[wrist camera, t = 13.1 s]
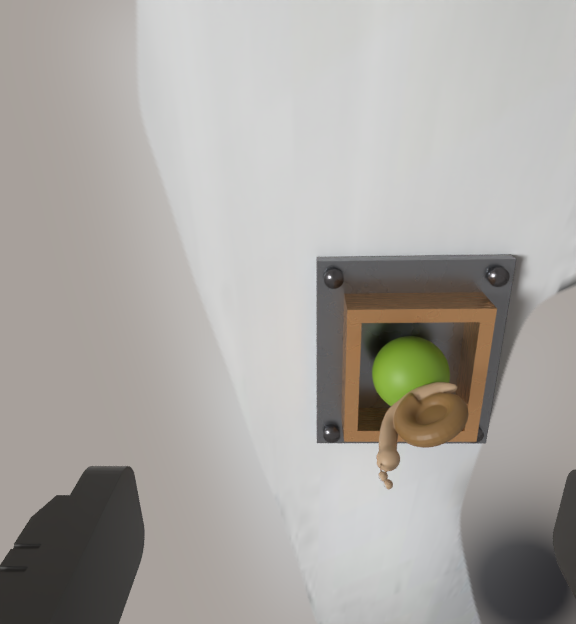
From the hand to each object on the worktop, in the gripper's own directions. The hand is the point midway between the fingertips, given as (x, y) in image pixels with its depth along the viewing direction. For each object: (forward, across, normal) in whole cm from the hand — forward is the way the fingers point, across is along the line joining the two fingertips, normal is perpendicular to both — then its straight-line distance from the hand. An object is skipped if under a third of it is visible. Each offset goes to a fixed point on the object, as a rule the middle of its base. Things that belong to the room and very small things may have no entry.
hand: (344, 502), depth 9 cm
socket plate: (+28, -7, +12) cm, 31 cm away
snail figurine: (+27, -6, +12) cm, 30 cm away
